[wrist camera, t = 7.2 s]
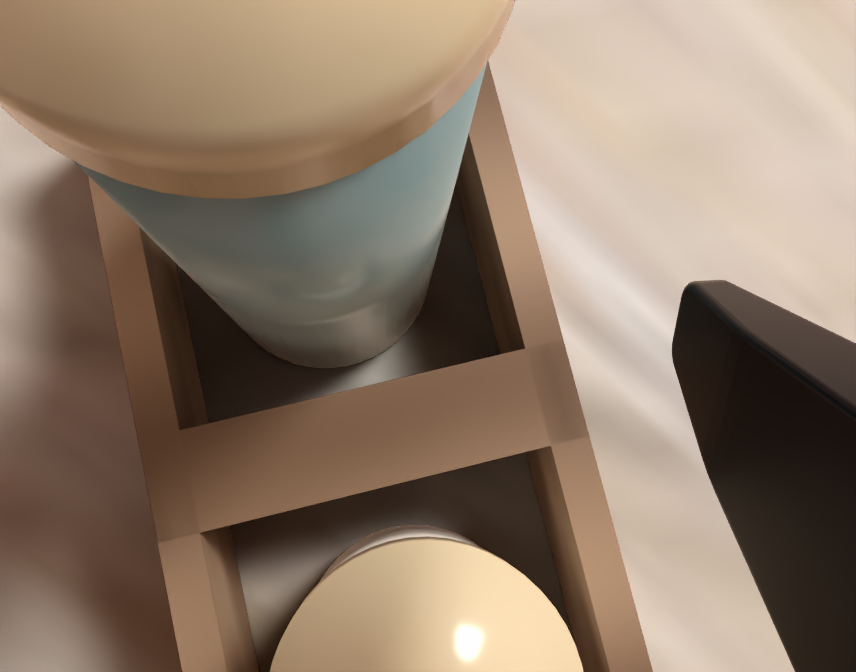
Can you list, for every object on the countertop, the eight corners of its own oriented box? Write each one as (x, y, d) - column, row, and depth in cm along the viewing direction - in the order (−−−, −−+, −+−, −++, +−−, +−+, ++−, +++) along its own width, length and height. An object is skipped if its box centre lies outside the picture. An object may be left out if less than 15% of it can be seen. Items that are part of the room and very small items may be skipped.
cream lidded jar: (554, 726, 18) (625, 831, 13) (327, 789, 18) (303, 927, 13) (497, 495, 19) (541, 507, 14) (276, 551, 19) (233, 585, 13)
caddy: (648, 785, 18) (700, 846, 15) (265, 896, 17) (241, 983, 14) (456, 60, 21) (469, -8, 18) (114, 129, 20) (68, 70, 17)
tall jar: (472, 313, 20) (686, -51, 6) (273, 410, 19) (-10, 257, 5) (376, 128, 20) (365, -598, 6) (181, 215, 20) (-293, -381, 6)
